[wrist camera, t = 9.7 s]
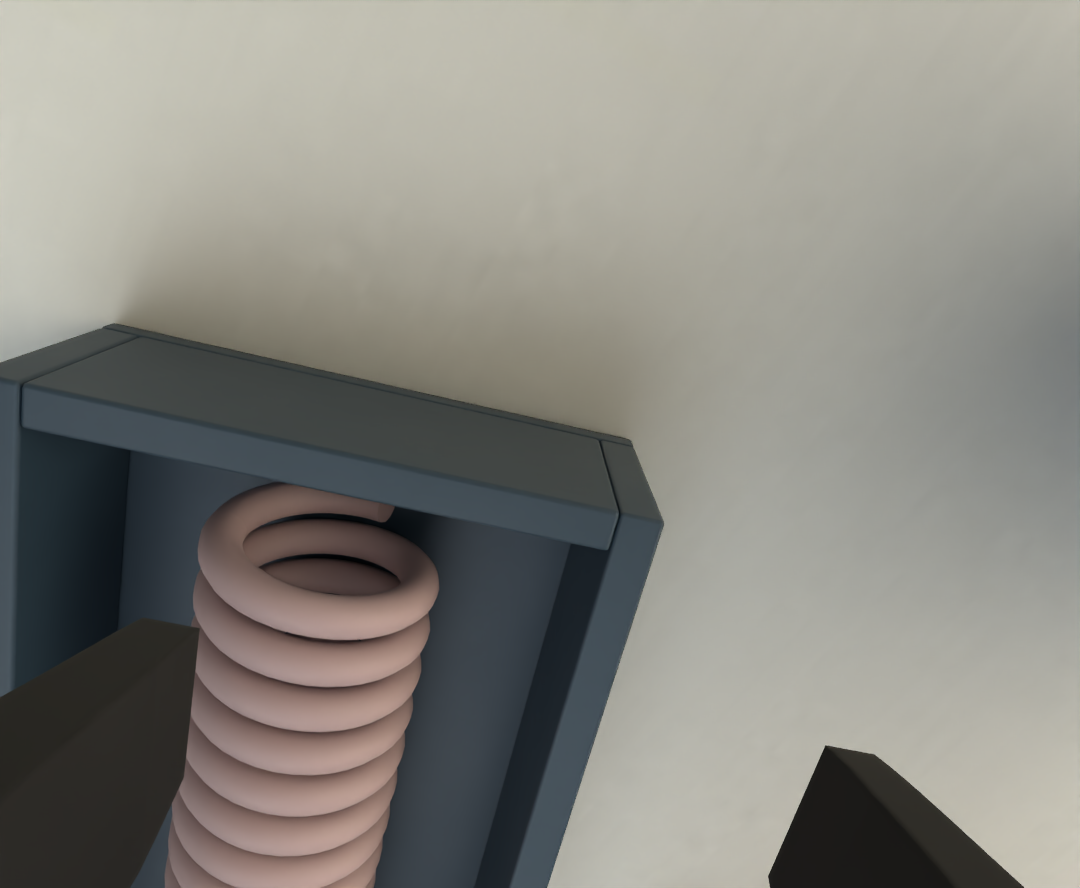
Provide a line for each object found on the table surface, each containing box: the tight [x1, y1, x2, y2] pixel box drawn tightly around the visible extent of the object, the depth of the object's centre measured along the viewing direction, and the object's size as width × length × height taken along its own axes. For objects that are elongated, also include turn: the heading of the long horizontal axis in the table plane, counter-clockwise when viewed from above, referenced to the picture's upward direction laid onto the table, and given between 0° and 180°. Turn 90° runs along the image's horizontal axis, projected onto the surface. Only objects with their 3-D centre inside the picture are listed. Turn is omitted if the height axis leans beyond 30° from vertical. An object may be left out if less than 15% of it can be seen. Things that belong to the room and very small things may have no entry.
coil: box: [165, 482, 439, 888], centre depth 18 cm, size 5×5×18 cm
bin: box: [0, 323, 664, 888], centre depth 18 cm, size 12×22×4 cm, turn 166°
